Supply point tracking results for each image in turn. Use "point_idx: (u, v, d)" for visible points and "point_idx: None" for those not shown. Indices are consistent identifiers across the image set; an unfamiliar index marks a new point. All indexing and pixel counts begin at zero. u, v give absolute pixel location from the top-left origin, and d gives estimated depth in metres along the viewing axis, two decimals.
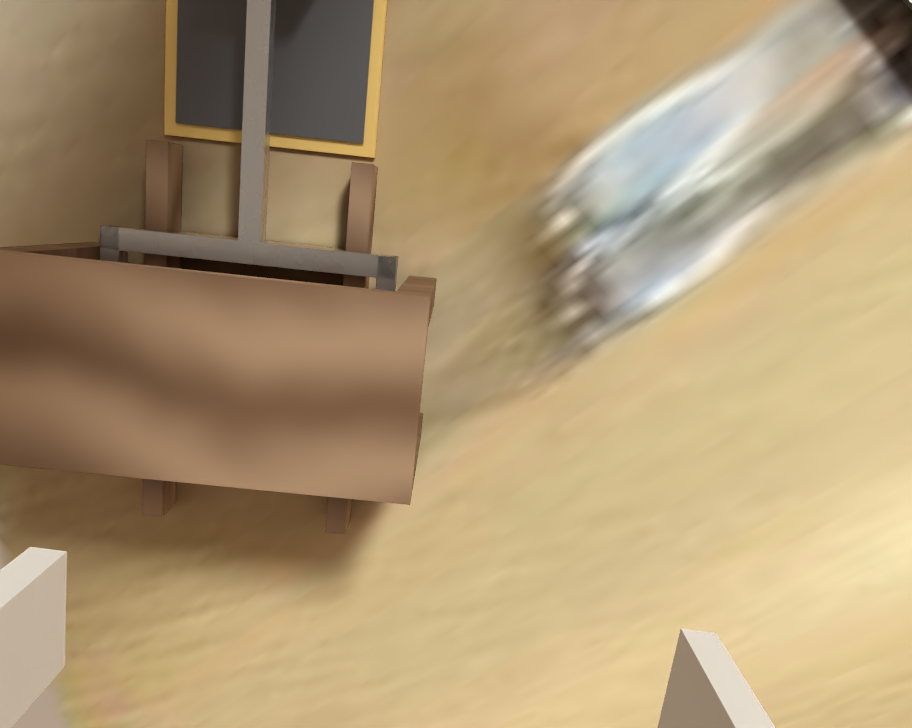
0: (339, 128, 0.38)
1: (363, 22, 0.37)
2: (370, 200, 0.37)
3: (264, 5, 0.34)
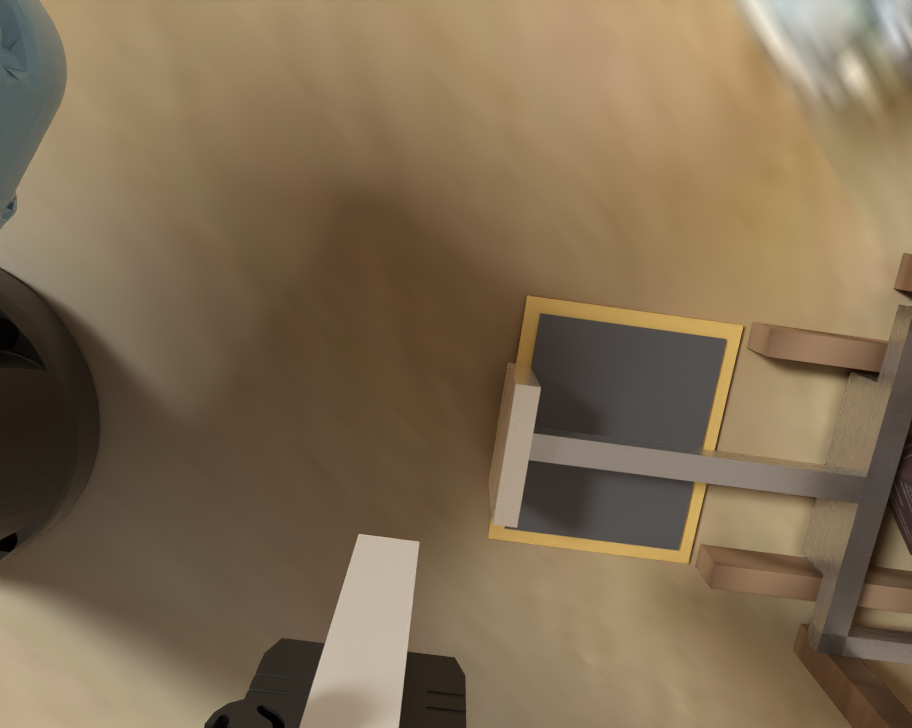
0: (705, 366, 0.31)
1: (588, 330, 0.31)
2: (815, 335, 0.29)
3: (594, 448, 0.29)
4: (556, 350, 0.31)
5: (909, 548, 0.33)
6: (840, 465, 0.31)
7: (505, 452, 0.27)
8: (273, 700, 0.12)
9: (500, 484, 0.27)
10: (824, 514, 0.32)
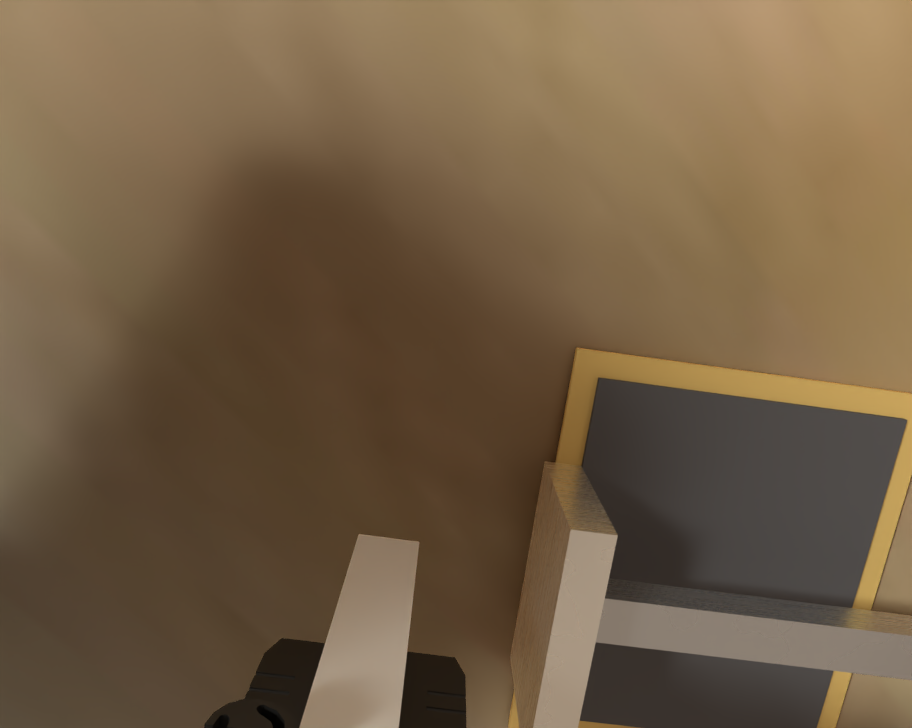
0: (871, 464, 0.19)
1: (678, 406, 0.18)
2: None
3: (701, 621, 0.16)
4: (624, 438, 0.19)
5: None
6: None
7: (549, 648, 0.15)
8: (273, 700, 0.12)
9: (539, 703, 0.15)
10: None
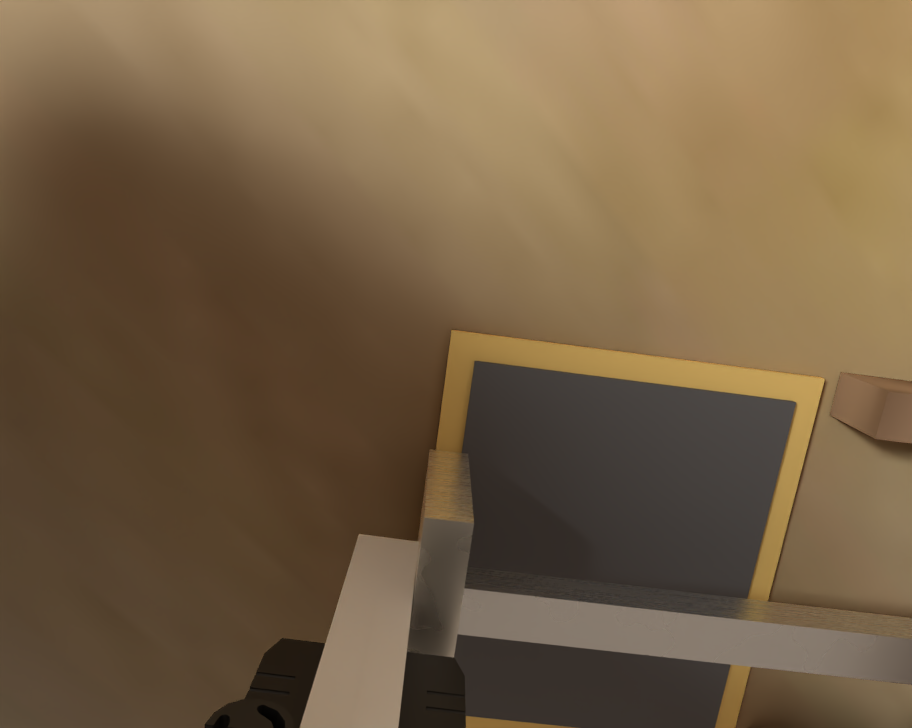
0: (760, 448, 0.18)
1: (558, 389, 0.18)
2: None
3: (581, 613, 0.16)
4: (503, 423, 0.18)
5: None
6: None
7: (409, 643, 0.14)
8: (273, 700, 0.12)
9: None
10: None
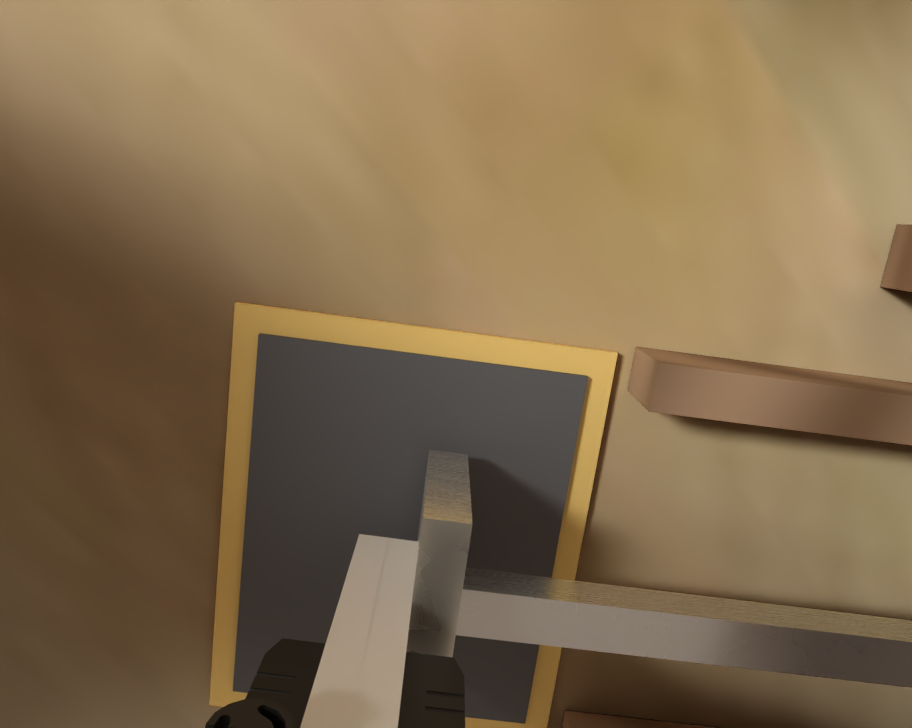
0: (554, 424, 0.18)
1: (345, 362, 0.17)
2: None
3: (581, 614, 0.16)
4: (292, 397, 0.18)
5: None
6: None
7: (407, 643, 0.14)
8: (274, 700, 0.12)
9: None
10: None
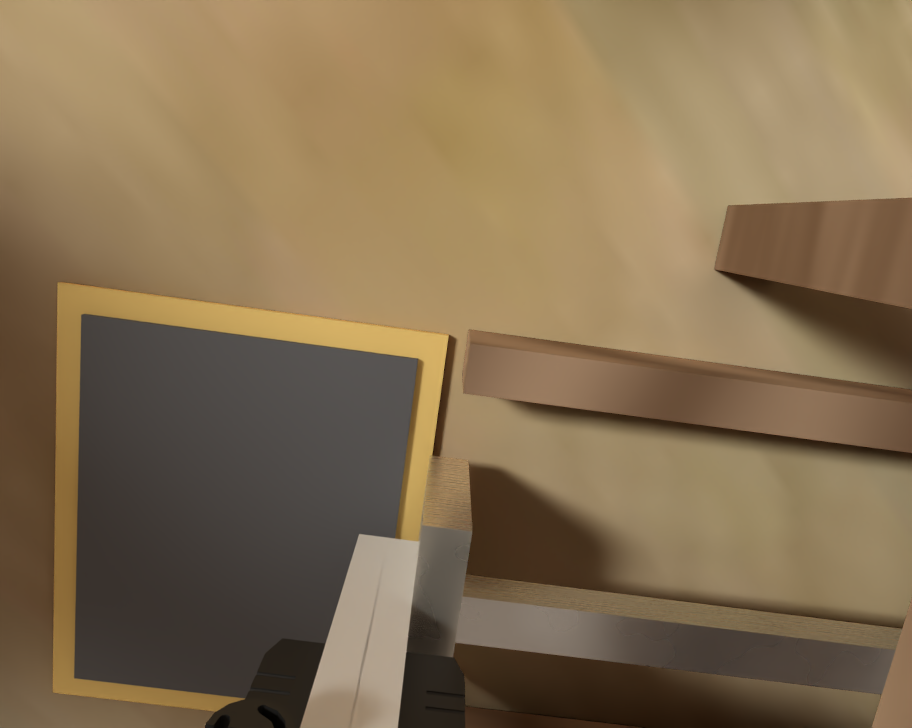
0: (386, 407, 0.18)
1: (170, 344, 0.17)
2: (551, 355, 0.16)
3: (581, 622, 0.16)
4: (118, 379, 0.17)
5: None
6: None
7: (406, 651, 0.14)
8: (274, 700, 0.12)
9: None
10: None
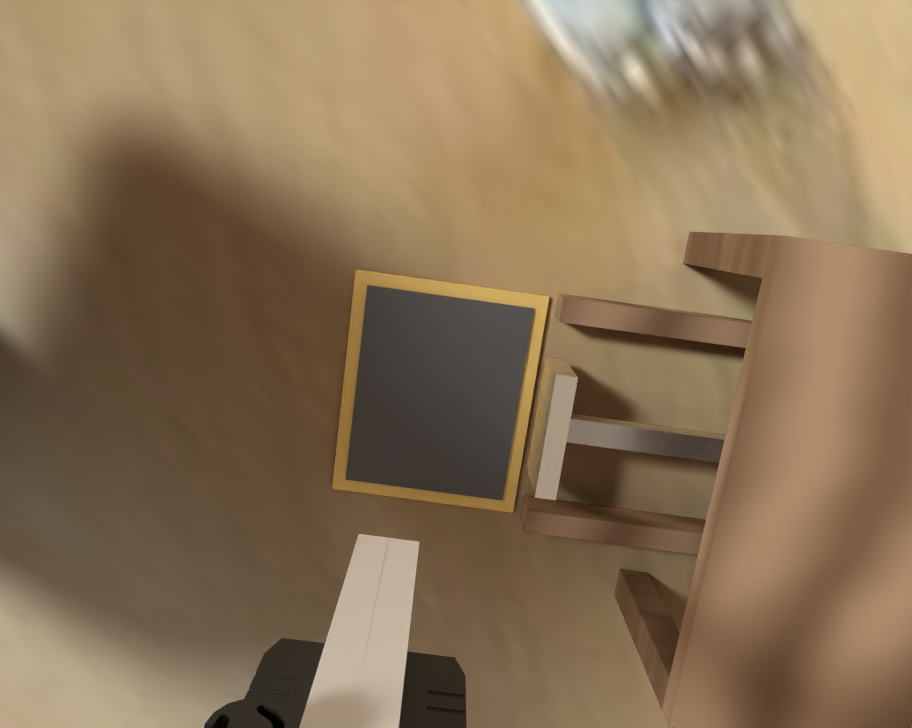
0: (517, 333, 0.35)
1: (410, 300, 0.34)
2: (603, 303, 0.33)
3: (623, 432, 0.33)
4: (383, 318, 0.35)
5: None
6: None
7: (546, 434, 0.31)
8: (273, 700, 0.12)
9: (541, 462, 0.31)
10: None
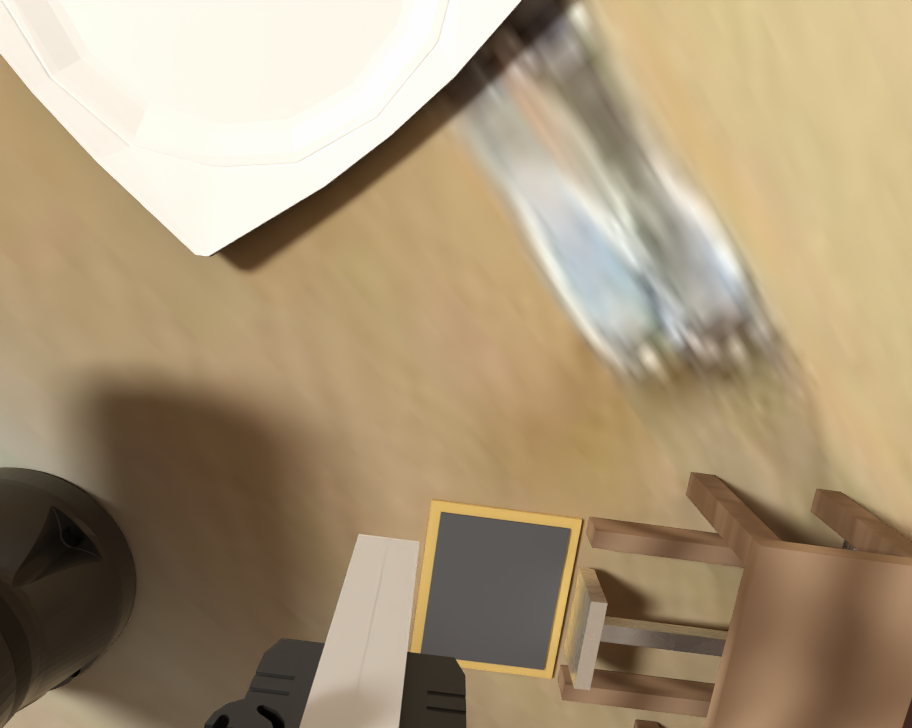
0: (556, 547, 0.45)
1: (474, 523, 0.44)
2: (625, 534, 0.43)
3: (640, 633, 0.43)
4: (452, 536, 0.45)
5: None
6: None
7: (583, 643, 0.41)
8: (273, 700, 0.12)
9: (579, 663, 0.41)
10: None
